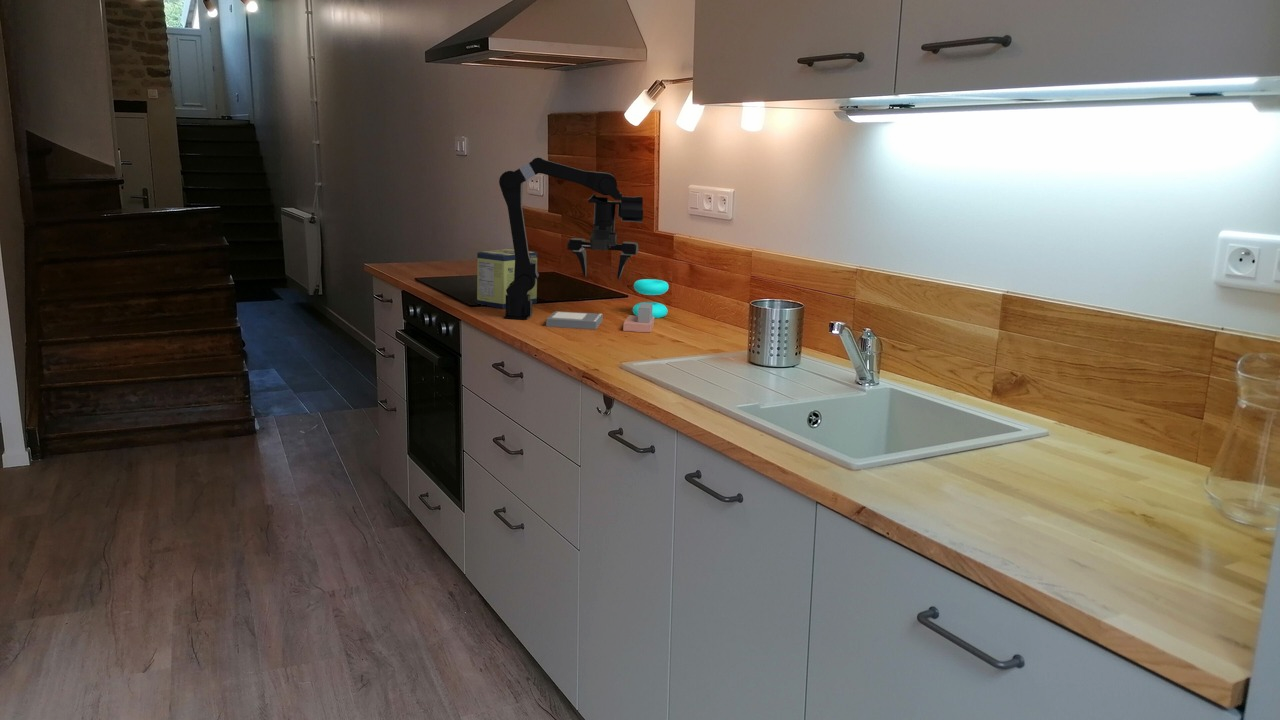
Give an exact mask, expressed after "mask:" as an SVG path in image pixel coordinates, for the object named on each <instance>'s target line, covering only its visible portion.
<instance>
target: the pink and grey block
mask: <svg viewBox="0 0 1280 720" xmlns="http://www.w3.org/2000/svg"><path fill="white" fill-rule="evenodd" d="M640 303H641V302H640ZM652 309H653V303H641V304H640V306H639V307H638V316H636V315H634V314H633V315H631V314H629V315H628V316H627V317H626V319H625V320H624V322H623V326H622V327H623V328H622V329H623V331H624V332H636V333H637V332H639V333H651V332H652V330H653V327H654V325H655V319H656V318H655V317H652Z"/></svg>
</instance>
